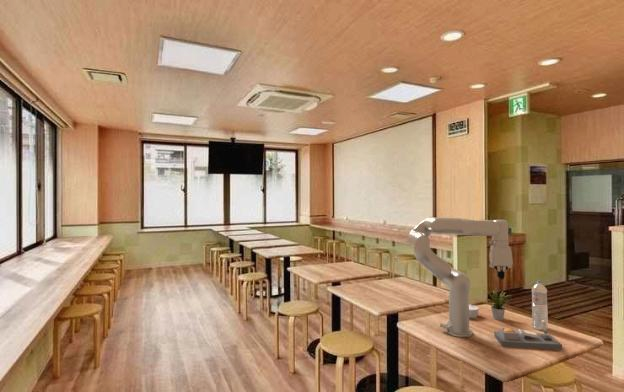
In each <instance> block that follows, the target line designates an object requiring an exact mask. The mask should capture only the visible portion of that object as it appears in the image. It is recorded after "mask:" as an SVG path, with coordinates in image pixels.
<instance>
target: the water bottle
mask: <svg viewBox="0 0 624 392" xmlns="http://www.w3.org/2000/svg"><path fill="white" fill-rule="evenodd" d="M531 300H532V301H531V315H532V316H531V318H532V321H531V322H532V324H531V325H532V328H534V330H538V331H544V328H543V324H542V323H541V321H542V320H545V321H546V329H547V330H548V328H549V321H548V318H549V317H548V312H549V311H548V289H547V288H546V286H545V285H544V284H542V281H541V280H536V283H535V284H534V285H533V286H532V287H531Z"/></svg>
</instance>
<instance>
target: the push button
mask: <svg viewBox="0 0 624 392" xmlns="http://www.w3.org/2000/svg"><path fill="white" fill-rule="evenodd" d="M504 328H505V329H504V332H511V333H514V330H513V329H510V328H511V327H504Z"/></svg>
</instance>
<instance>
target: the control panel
mask: <svg viewBox="0 0 624 392" xmlns="http://www.w3.org/2000/svg"><path fill="white" fill-rule="evenodd" d="M505 328H506V327H499V331H497V330H495V331H493V336H494V338H495V339H496V340H497V342H498V343H499V344H500V346H501V347H506V348H520V349H521V348H522V349H523V348H524V349H538V350H551V351H552V350H553V351H556V350H557V351H562V350H563V344H562V343H561V342H559V340H557V339H556V338H555V337H554V336H553V335H552V334H550V333H548V336H545V335H544V333H537V332H535V333H536V334H537V335H538V337H537V338H535V337H531V336H526V335H521V334H520V333H519V332H518V330H516V329H515V328H514V327H513V328H512V327H509V328H510V329H513V330H514V333H511V332H504V329H505Z"/></svg>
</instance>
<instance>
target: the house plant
mask: <svg viewBox="0 0 624 392" xmlns="http://www.w3.org/2000/svg"><path fill="white" fill-rule="evenodd" d="M498 294H499V295H498ZM505 294H507V292H504V290H501V292H500V293H498V291H497V290H494V289H493V292H492V293H490V292H488V295H489V297H490V298H491V299H492V300H491V299H490V298H489V299H488V298H486V299H485V300H486V301H490V302H491V306H490V309H491V314H492V318H493V319H494V320H496V321H503V320H504V318H505V311H506V308H505V307H503V306H504V305H505V306H508V304H509V300H507V299H508V297H511V294H508V295H506V296H505Z"/></svg>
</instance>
